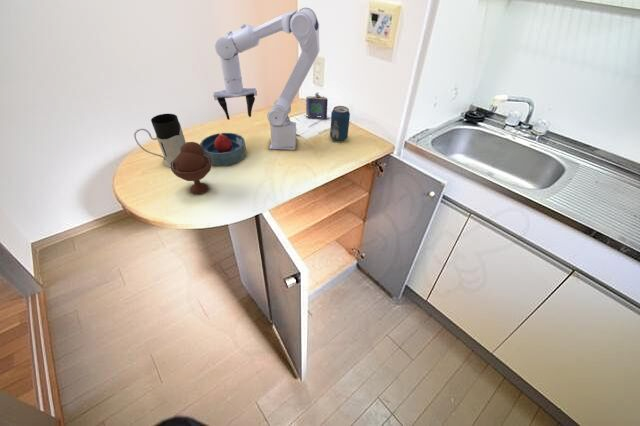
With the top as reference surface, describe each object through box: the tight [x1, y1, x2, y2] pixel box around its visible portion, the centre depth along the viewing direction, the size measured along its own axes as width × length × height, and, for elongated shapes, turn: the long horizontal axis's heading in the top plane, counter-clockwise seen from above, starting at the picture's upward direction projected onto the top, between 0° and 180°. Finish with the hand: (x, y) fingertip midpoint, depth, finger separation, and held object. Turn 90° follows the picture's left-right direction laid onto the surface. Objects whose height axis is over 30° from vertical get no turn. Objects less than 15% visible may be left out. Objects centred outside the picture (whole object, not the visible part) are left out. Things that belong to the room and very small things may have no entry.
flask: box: [305, 92, 329, 120], centre depth 126 cm, size 9×3×11 cm, turn 84°
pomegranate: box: [214, 132, 232, 153], centre depth 100 cm, size 6×6×8 cm
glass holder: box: [133, 113, 187, 168], centre depth 94 cm, size 9×14×15 cm, turn 131°
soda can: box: [329, 105, 351, 143], centre depth 111 cm, size 7×7×12 cm
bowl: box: [199, 132, 248, 167], centre depth 102 cm, size 15×15×5 cm
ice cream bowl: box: [170, 141, 212, 196], centre depth 83 cm, size 11×11×15 cm
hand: (239, 117), depth 105 cm, fingers open, 7 cm apart
